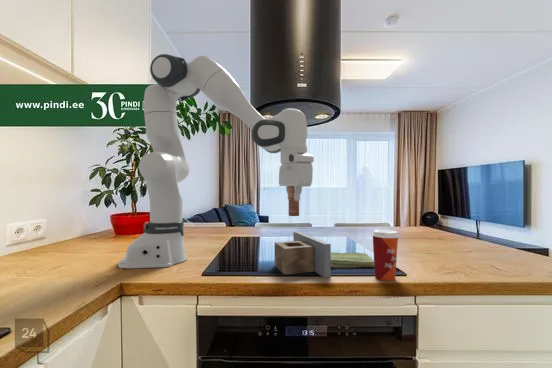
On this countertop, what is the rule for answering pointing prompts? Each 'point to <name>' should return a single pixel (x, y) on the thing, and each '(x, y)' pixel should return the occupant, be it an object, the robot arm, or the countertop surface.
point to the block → (294, 257)
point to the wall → (317, 253)
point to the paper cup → (385, 254)
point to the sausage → (293, 203)
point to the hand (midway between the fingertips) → (293, 200)
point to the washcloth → (351, 260)
